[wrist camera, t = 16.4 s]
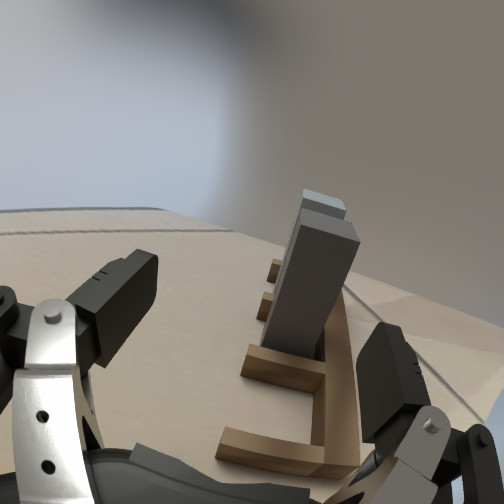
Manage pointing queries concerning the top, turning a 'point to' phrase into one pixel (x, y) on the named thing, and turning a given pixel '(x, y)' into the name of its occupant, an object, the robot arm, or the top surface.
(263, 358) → the cable comb
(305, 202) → the slate plug
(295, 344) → the grey tall rectangular block
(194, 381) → the top surface
